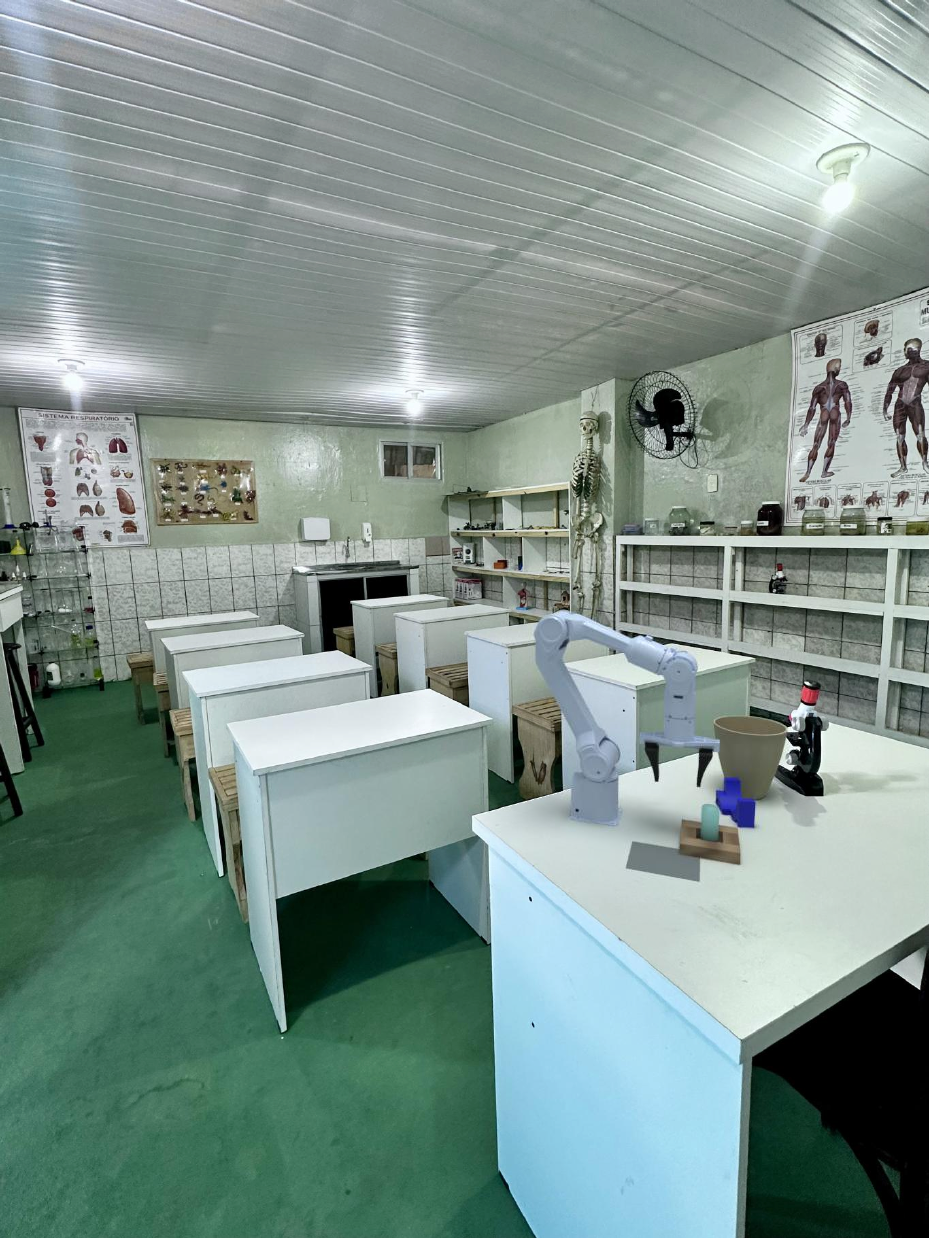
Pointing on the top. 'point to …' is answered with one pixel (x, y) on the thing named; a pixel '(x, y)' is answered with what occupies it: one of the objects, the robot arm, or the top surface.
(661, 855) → the mat
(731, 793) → the cable clip
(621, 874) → the top surface
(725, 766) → the plant pot
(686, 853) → the socket block
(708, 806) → the peg
